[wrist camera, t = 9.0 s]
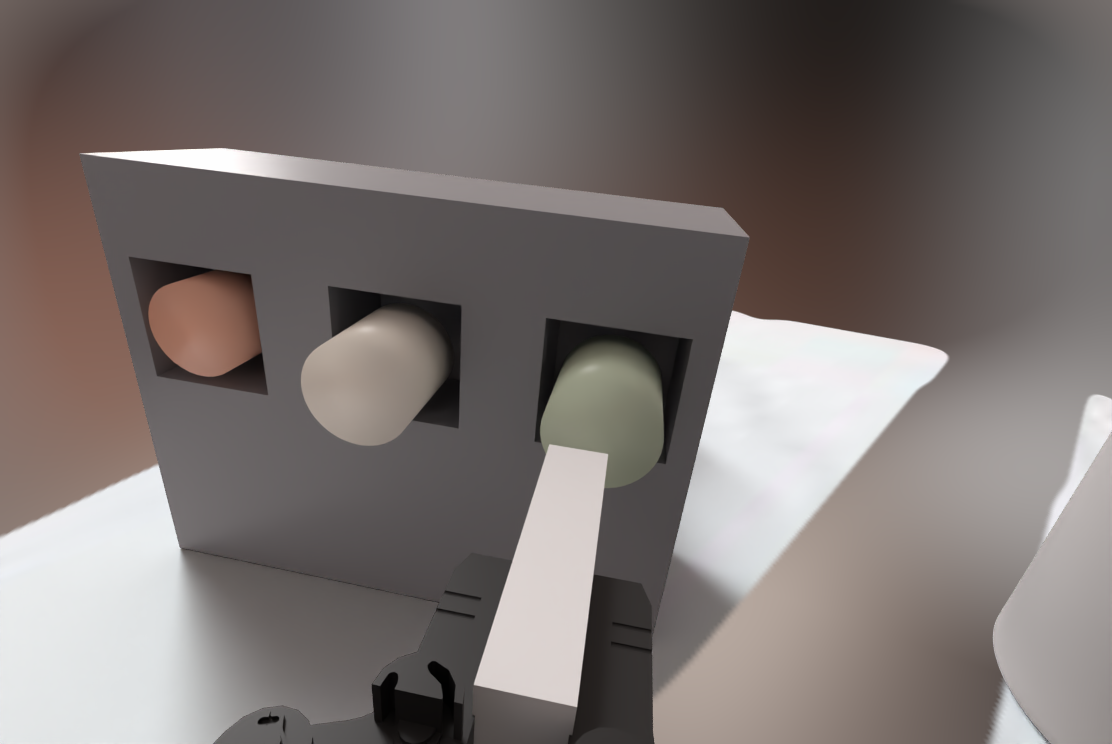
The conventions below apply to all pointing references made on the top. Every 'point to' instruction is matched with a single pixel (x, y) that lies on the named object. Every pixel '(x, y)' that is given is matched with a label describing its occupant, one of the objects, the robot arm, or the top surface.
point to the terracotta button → (207, 322)
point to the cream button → (377, 374)
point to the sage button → (609, 406)
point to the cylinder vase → (1066, 620)
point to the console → (465, 313)
